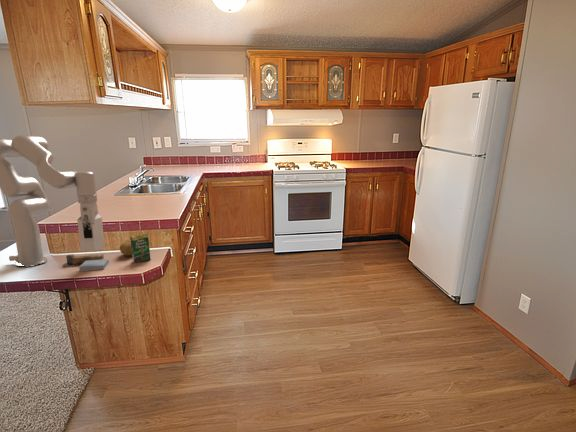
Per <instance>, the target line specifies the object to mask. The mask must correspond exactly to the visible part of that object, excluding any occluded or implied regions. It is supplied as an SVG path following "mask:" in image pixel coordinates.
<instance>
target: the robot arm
mask: <svg viewBox="0 0 576 432" xmlns="http://www.w3.org/2000/svg"><path fill="white" fill-rule="evenodd" d="M17 157H18V158H19V157H22V158H23V157H24V158H25V159H26V160H27V161H29V162H30V163H31V164H33V165H34V166H35V167H36V172H37V173H38V176H39V177H40V179H42V180H43V181H44V182H45V183H46V184H48V185H50V186H51V187H53V188H55V189H57V190H65V189H70V188H76V195H77V202H78V203H79V208H80V217H81V221H82V224H83V232H84V238H92V229H91V223H92V224H95V218H96V216H97V214H99V209H98V205H97V204H98V196H97V195H98V194H97V187H96V178H95V174H94V172H93V171H80V170H79V171H78V170H65V171H62V170H61V171H60V170H57V169H55V168H54V167H53V166H52V163H53V161H54V158H55V157H54V154H53V153H52V152H51V151H49V143H48V141H47V140H46V139H45V138H44V137H42V136H38V135H25V134H22V135H17V136H15V137H13V138H3V137H0V191H1V192H2V194H3V195H4V196H5V197H7V198H11V199H12V198H18V199H15V200H13V201H10V203H9V204H8V207H7V211H8V215H9V217H10V220H11V222H12V225H13V230H14V231H13V232H14V239H15V245H16V251H17V255H9V257H8V260H9V261H10V262H14V261H15V263H16V262H18V263H21V264H22V265H24V266H30V265H36V266H39V265H38V264H40V265H43V264H44V263H45V264H46V263H47V262H48V260H49V259H48V258H47V257H45V256H44V253H43V252H44V251H43V246H42V245H43V244H42V237H41V232H40V226H39V223H38V222H37V221H36V220H35V219H34V218H36V217H40V216H44V215H46V214H48V213H49V212H50V211H51V203H50V200H49V199H48V196H47V195H46V192H45V191H44V189H43V186H41V183H40V182H39V181H38V180H37V179H36V178H34V177H33V176H28V175H25V176H24V175H23V176H22V175H21V176H20V175H19V174H18V172H17V170H16V168H15V167H14V165H13V164H12V163H11V162H10V161H8V160H7V159H5V158H17ZM21 197H23V198H21ZM87 220H89V222H90V223H86V222H87ZM88 225H89V226H88ZM42 263H43V264H42Z"/></svg>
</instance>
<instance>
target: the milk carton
mask: <svg viewBox="0 0 576 432" xmlns="http://www.w3.org/2000/svg"><path fill="white" fill-rule="evenodd" d="M86 223H90V222H89V220H87V222H86ZM88 226H89V225H88ZM77 229H78V236H79V238H78V239H79V246H80V252H93V253H94V252H95V253H96V252H98V251H101V250H103V249H105V248H106V244H105V235H104V227H103V217H102V216H101V214H99V213H98V214H97V216H96V218H95V224H92V223H91V229H92V238H84V232H83V224H82V221H81V216H79V218H78V219H77Z"/></svg>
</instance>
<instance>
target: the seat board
mask: <svg viewBox="0 0 576 432" xmlns="http://www.w3.org/2000/svg"><path fill="white" fill-rule="evenodd" d="M109 263H110V260H109V258H106V259H105V258H104V259H102V260H86V261H85V262H84V263H81V264H80V265H79V267H78V268H79V272H84V271H85V272H86V271H87V272H88V271H97V270H98V271H99V270H105V269H106V267H107V266H108V265H109Z"/></svg>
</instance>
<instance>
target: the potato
mask: <svg viewBox="0 0 576 432" xmlns="http://www.w3.org/2000/svg"><path fill="white" fill-rule="evenodd" d="M119 252H120V253H121V254H122V255H125V256H128V257H130V256H132V248H131V239H127V240H124V241H122V242H121V243H120V245H119Z"/></svg>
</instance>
